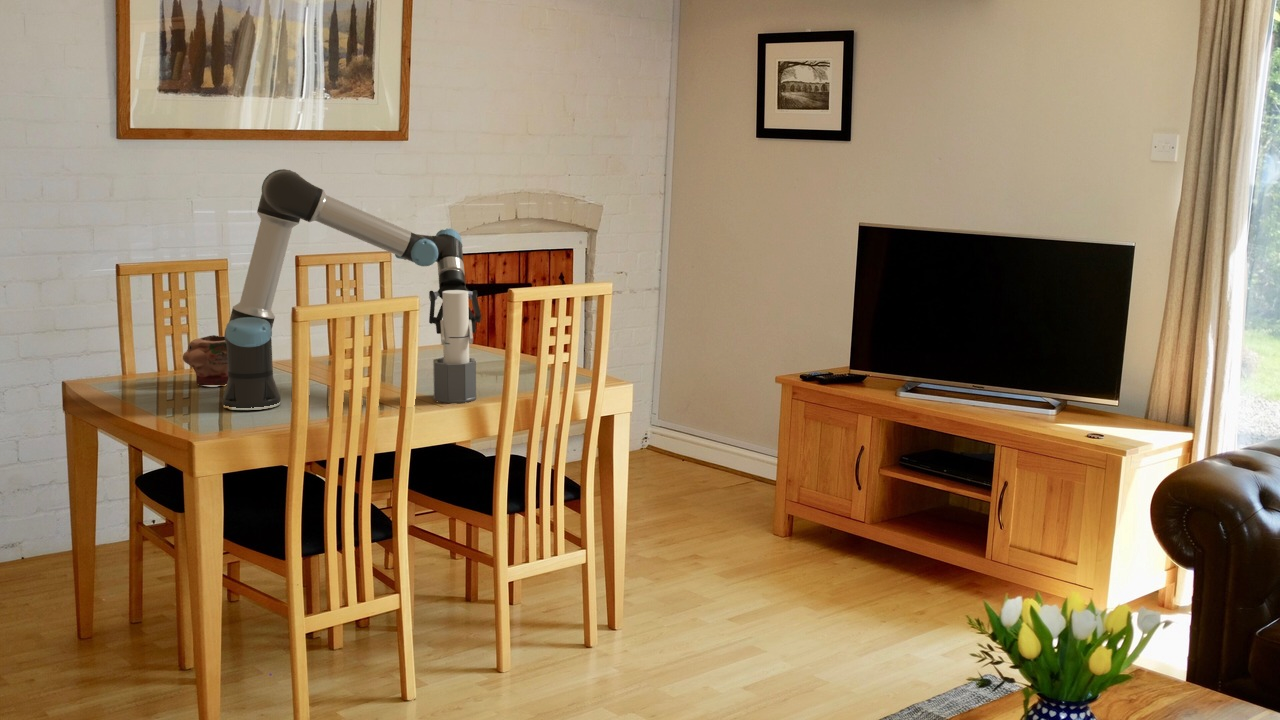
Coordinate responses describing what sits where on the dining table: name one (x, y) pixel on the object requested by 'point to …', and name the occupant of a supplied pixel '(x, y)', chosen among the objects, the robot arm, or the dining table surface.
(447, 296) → the cylindrical container
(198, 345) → the decorative planter
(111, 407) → the dining table surface
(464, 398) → the holder sleeve
